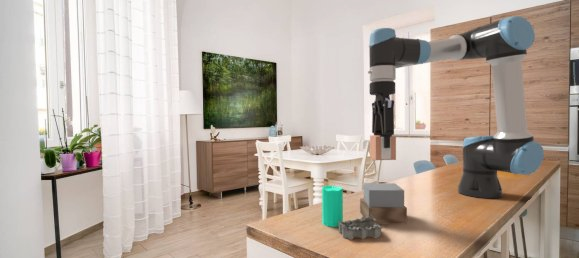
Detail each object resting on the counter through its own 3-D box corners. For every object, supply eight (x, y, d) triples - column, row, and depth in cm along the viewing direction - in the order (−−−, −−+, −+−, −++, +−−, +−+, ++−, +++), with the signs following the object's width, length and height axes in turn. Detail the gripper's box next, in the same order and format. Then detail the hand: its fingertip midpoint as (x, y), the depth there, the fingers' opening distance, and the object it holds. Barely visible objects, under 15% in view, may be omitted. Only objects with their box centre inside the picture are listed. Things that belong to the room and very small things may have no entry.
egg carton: (374, 229, 86) (374, 214, 86) (384, 239, 78) (384, 223, 78) (336, 230, 85) (336, 215, 85) (342, 240, 78) (342, 224, 78)
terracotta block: (389, 157, 97) (388, 135, 97) (395, 159, 91) (395, 136, 91) (370, 157, 97) (369, 135, 97) (375, 160, 91) (375, 136, 91)
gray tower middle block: (395, 198, 99) (395, 183, 99) (404, 207, 89) (404, 190, 89) (363, 198, 100) (363, 183, 100) (369, 207, 90) (369, 190, 90)
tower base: (393, 213, 100) (393, 198, 100) (406, 224, 89) (406, 207, 89) (360, 213, 100) (360, 198, 100) (369, 225, 89) (368, 208, 89)
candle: (318, 221, 92) (318, 181, 91) (335, 218, 94) (335, 179, 94) (328, 228, 86) (328, 185, 86) (347, 224, 89) (346, 183, 88)
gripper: (362, 85, 103) (362, 154, 103) (379, 77, 84) (379, 162, 84) (384, 85, 103) (384, 154, 103) (407, 77, 84) (406, 161, 84)
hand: (382, 157), depth 94 cm, fingers closed on terracotta block, 6 cm apart
